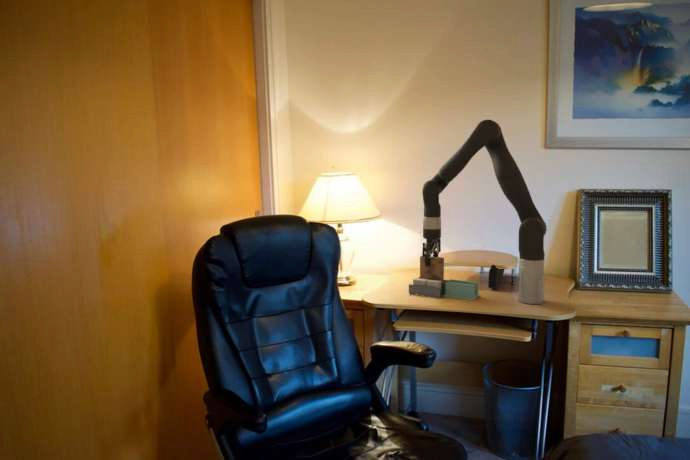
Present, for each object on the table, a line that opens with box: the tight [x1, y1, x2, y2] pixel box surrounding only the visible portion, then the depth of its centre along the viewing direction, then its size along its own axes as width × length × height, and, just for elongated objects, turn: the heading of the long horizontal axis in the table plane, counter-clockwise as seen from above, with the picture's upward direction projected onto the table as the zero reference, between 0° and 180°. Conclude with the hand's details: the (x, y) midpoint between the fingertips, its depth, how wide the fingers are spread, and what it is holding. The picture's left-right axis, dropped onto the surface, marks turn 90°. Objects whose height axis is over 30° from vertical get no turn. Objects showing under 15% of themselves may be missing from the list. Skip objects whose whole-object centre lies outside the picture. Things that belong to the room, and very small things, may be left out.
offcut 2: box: [426, 280, 442, 288], centre depth 216 cm, size 6×3×5 cm, turn 58°
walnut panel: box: [419, 255, 445, 282], centre depth 221 cm, size 10×2×14 cm, turn 58°
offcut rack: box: [408, 276, 450, 299], centre depth 219 cm, size 14×11×5 cm
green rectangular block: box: [444, 278, 480, 302], centre depth 213 cm, size 12×8×6 cm, turn 58°
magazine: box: [487, 264, 505, 289], centre depth 233 cm, size 18×3×31 cm
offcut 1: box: [412, 277, 428, 286], centre depth 219 cm, size 6×3×5 cm, turn 58°
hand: (431, 264), depth 220 cm, fingers open, 8 cm apart
